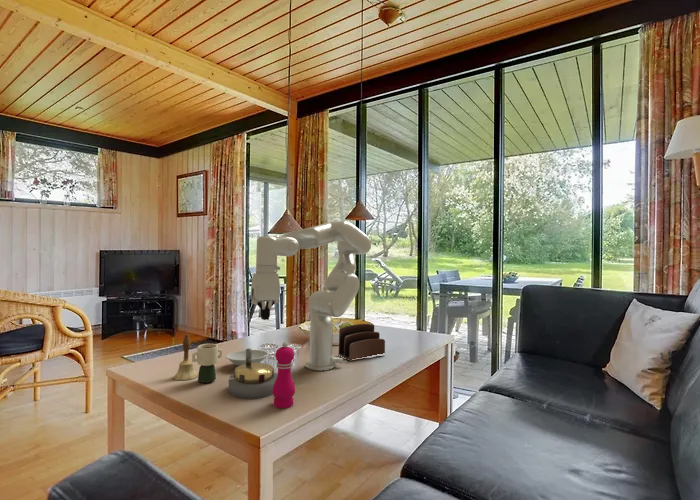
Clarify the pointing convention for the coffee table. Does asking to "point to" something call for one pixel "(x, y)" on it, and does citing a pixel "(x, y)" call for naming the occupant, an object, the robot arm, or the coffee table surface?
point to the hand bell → (186, 363)
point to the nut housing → (251, 388)
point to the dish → (240, 356)
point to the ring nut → (253, 371)
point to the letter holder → (360, 341)
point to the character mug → (207, 361)
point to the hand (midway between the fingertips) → (265, 319)
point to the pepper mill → (284, 378)
